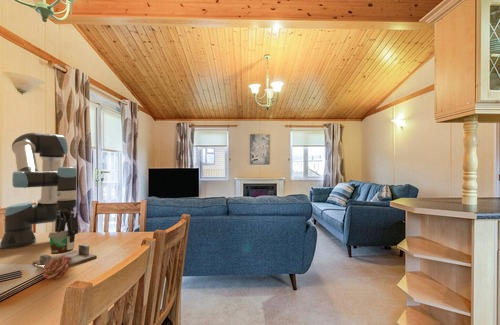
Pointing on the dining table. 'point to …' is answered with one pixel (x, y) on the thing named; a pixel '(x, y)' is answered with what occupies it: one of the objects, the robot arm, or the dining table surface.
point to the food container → (59, 242)
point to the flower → (56, 267)
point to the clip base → (70, 256)
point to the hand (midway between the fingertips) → (66, 247)
